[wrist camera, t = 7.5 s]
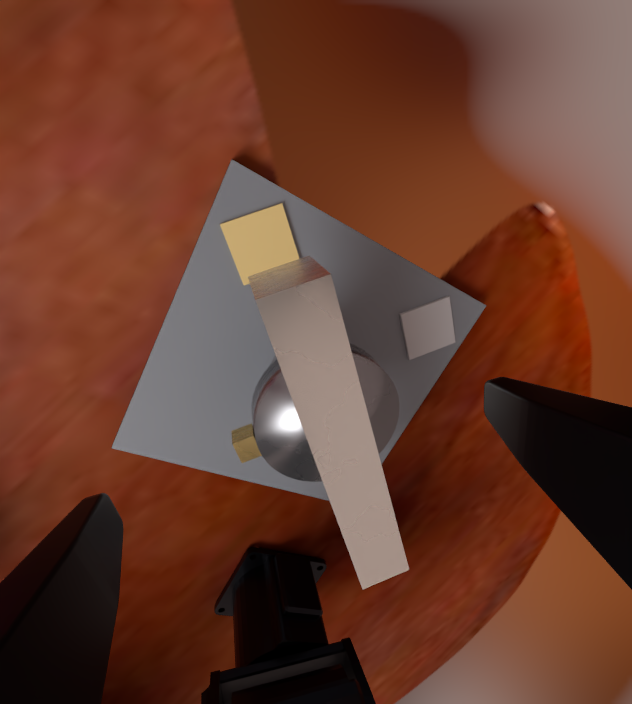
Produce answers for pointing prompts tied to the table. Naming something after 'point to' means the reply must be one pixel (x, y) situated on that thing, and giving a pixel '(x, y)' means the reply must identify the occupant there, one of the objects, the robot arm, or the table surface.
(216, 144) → the table surface
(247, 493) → the table surface
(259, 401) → the handle
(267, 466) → the base
